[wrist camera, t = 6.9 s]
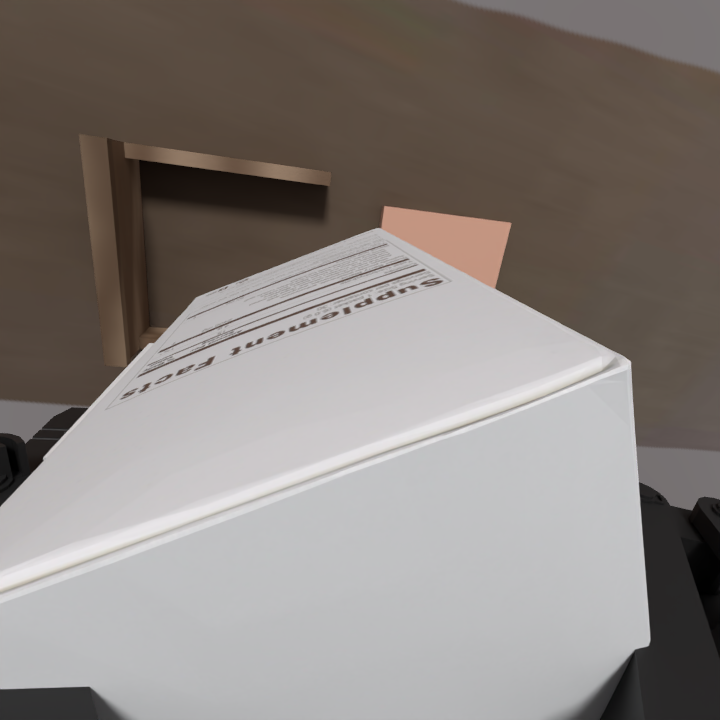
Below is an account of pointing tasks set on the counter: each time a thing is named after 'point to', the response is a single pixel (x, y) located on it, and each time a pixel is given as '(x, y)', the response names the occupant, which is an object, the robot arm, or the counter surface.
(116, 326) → the wooden u-shaped frame
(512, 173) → the counter surface
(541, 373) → the supplement box
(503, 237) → the terracotta tile
